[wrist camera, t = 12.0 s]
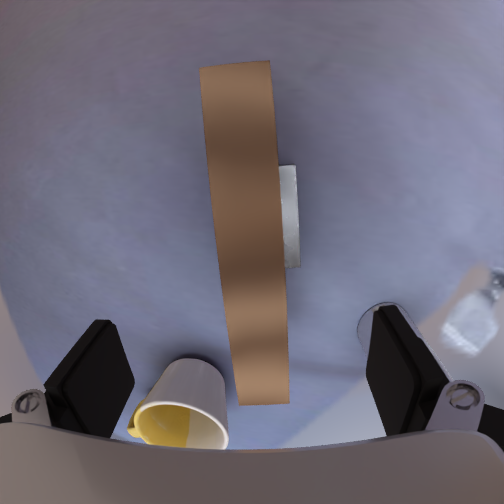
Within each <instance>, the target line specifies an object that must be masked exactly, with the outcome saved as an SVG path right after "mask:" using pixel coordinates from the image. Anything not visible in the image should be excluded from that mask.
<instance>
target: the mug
mask: <svg viewBox="0 0 504 504" xmlns="http://www.w3.org/2000/svg"><path fill="white" fill-rule="evenodd" d="M127 430H128V432H129V433H130V435H132V436H133V437H135V438H138V437H141V438H142V439H143V440H144V441H145V442H146V443H148V444H151V445H161V446H171V447H183V448H198V449H224V450H225V449H226V447H227V445H228V441H229V435H228V420H227V409H226V396H225V383H224V379H223V377H222V375H221V374H220V372H219V371H218V370H217V369H216V368H215V367H213V366H212V365H210V364H209V363H207V362H205V361H202V360H199V359H191V358H186V359H179V360H176V361H174V362H172V363H171V364H170V365H169V366H168V367H167V368H166V369H165V371H164V372H163V374H162V375H161V377H160V378H159V380H158V381H157V383H156V384H155V385H154V387H153V388H152V390H151V391H150V392H149V394H148V395H147V396H146V398H145V399H144V400H142V401H141V402H140V403H139V404H138V406H137V407H136V409H135V411H134V413H133V415H132V417H131V419H130V421H129V424H128V427H127Z"/></svg>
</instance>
